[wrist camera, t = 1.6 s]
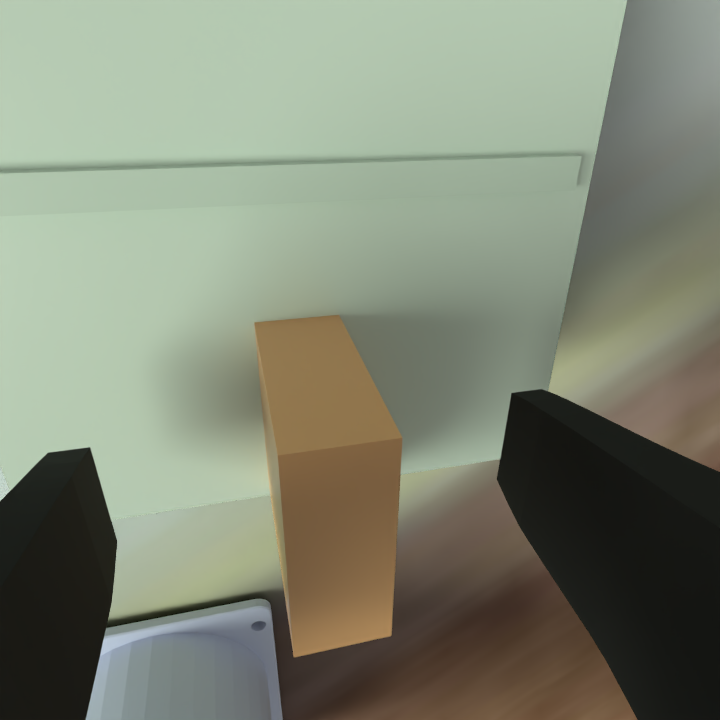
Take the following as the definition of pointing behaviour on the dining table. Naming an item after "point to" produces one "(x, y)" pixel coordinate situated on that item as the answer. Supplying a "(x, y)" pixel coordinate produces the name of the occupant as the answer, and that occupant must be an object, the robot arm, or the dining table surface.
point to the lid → (289, 254)
